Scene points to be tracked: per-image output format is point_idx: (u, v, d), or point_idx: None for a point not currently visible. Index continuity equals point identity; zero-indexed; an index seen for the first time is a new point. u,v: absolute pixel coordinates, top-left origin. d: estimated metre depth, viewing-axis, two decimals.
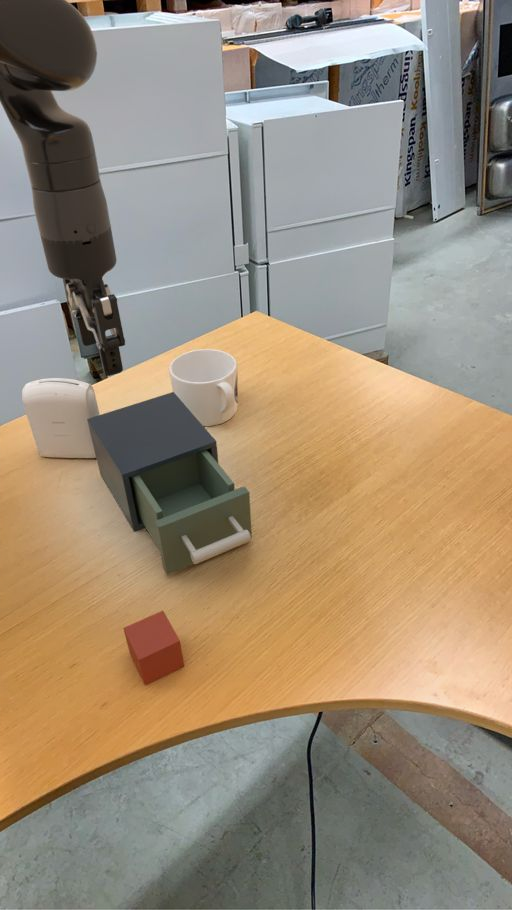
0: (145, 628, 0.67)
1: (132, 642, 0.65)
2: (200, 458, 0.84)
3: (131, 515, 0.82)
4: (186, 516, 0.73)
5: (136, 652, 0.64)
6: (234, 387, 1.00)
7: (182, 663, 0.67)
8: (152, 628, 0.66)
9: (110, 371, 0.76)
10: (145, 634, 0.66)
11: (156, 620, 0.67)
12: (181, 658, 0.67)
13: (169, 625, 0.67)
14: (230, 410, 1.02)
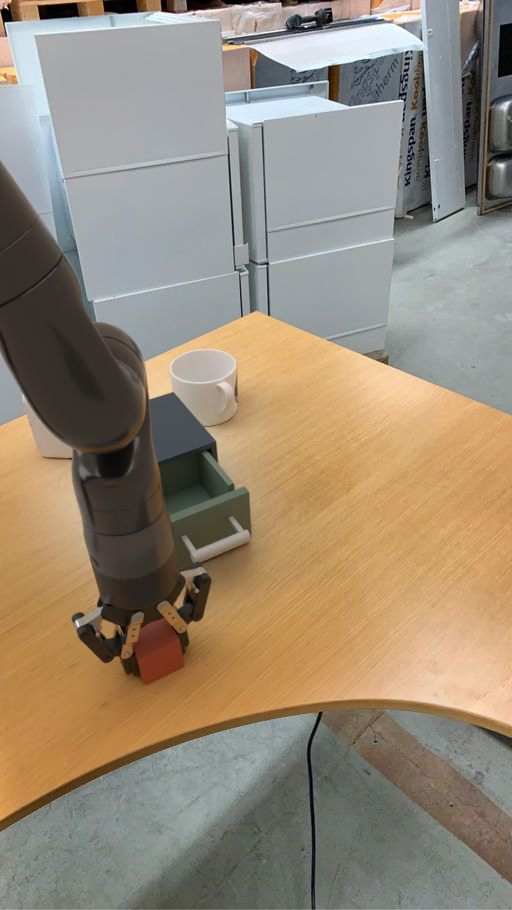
0: (145, 628, 0.67)
1: None
2: (200, 458, 0.84)
3: None
4: (186, 516, 0.73)
5: (136, 652, 0.64)
6: (234, 387, 1.00)
7: (182, 663, 0.67)
8: (152, 628, 0.66)
9: (122, 664, 0.67)
10: (145, 634, 0.66)
11: None
12: (181, 658, 0.67)
13: (169, 625, 0.67)
14: (230, 410, 1.02)
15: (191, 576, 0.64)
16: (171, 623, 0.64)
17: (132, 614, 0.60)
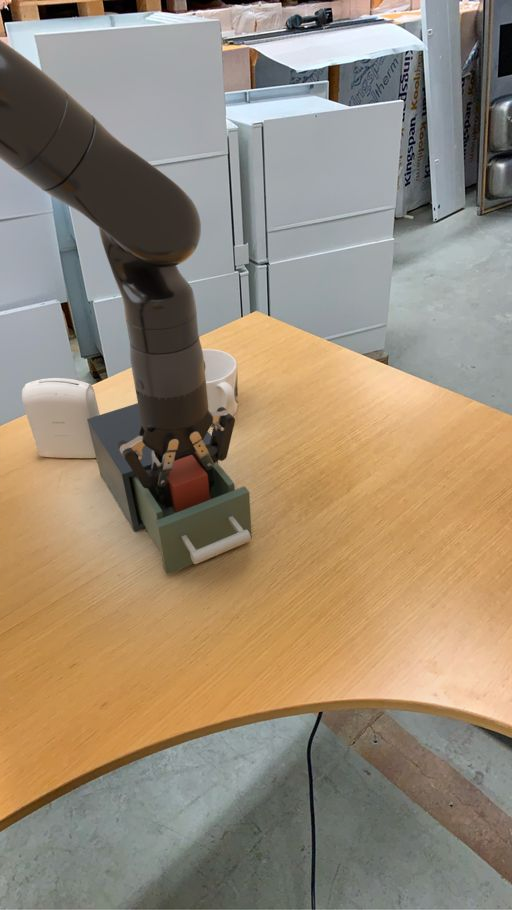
0: (177, 466, 0.78)
1: None
2: None
3: (131, 515, 0.82)
4: (186, 516, 0.73)
5: (170, 482, 0.75)
6: (234, 387, 1.00)
7: (209, 498, 0.79)
8: (183, 466, 0.78)
9: (157, 498, 0.78)
10: (177, 470, 0.77)
11: (186, 461, 0.78)
12: (208, 492, 0.78)
13: (198, 464, 0.78)
14: (230, 410, 1.02)
15: (217, 415, 0.75)
16: (200, 456, 0.75)
17: (169, 440, 0.71)
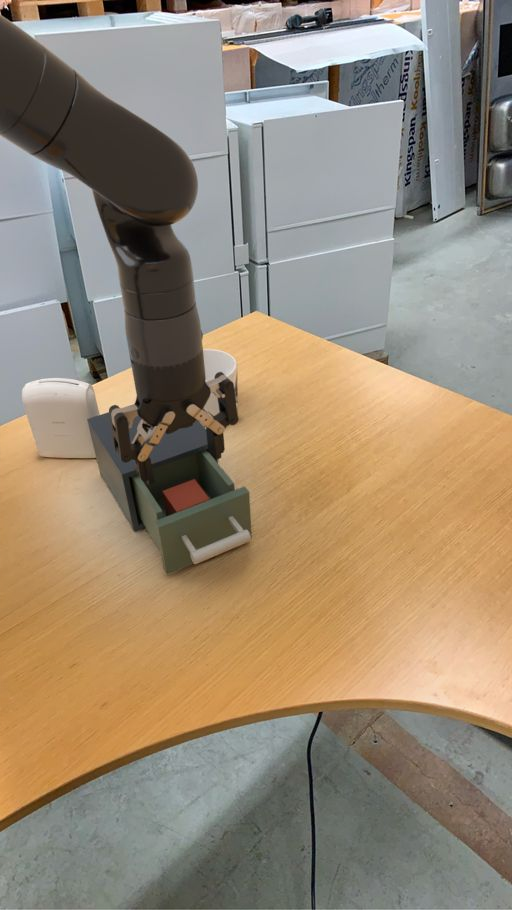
0: (180, 491, 0.80)
1: (170, 500, 0.79)
2: (200, 458, 0.84)
3: (131, 515, 0.82)
4: (186, 516, 0.73)
5: (174, 507, 0.78)
6: (234, 387, 1.00)
7: None
8: (186, 491, 0.80)
9: (138, 474, 0.75)
10: (180, 495, 0.79)
11: (189, 485, 0.81)
12: None
13: (200, 488, 0.80)
14: None
15: (214, 384, 0.72)
16: (206, 425, 0.73)
17: (165, 413, 0.69)
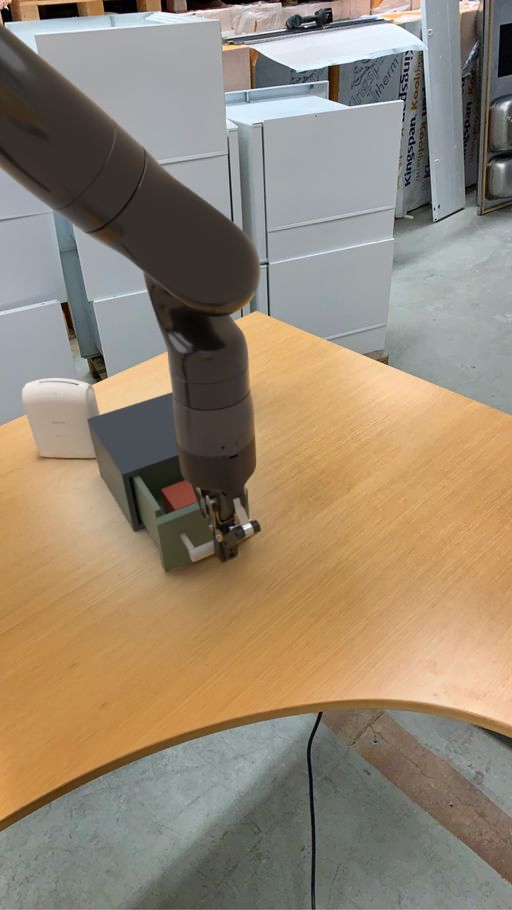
0: (179, 489, 0.80)
1: (169, 498, 0.79)
2: None
3: (131, 515, 0.82)
4: (185, 514, 0.73)
5: (173, 505, 0.78)
6: None
7: None
8: (185, 489, 0.80)
9: (226, 560, 0.71)
10: (179, 493, 0.80)
11: (188, 483, 0.81)
12: None
13: None
14: None
15: None
16: None
17: None
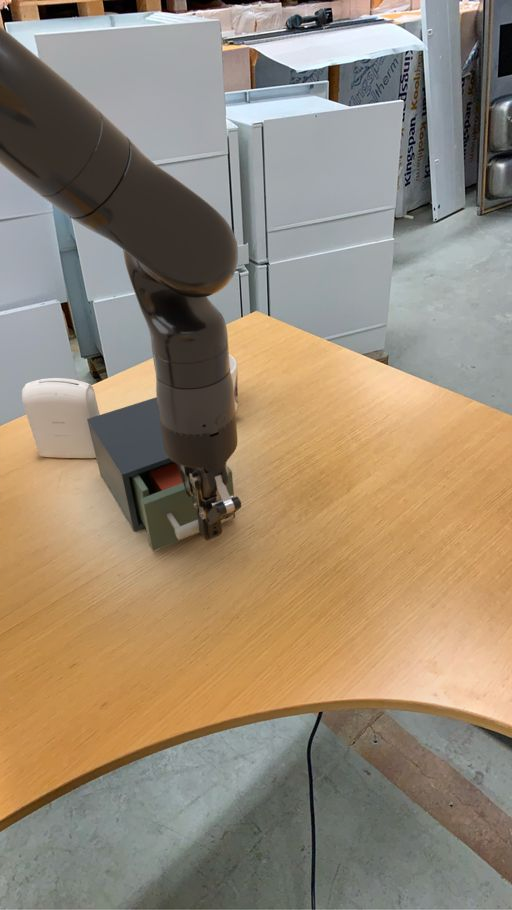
0: (166, 471, 0.83)
1: (156, 480, 0.82)
2: None
3: (131, 515, 0.82)
4: (171, 494, 0.76)
5: (160, 486, 0.81)
6: (234, 387, 1.00)
7: None
8: (172, 471, 0.83)
9: (210, 537, 0.73)
10: (166, 475, 0.82)
11: (175, 466, 0.84)
12: None
13: None
14: None
15: None
16: None
17: (225, 465, 0.68)
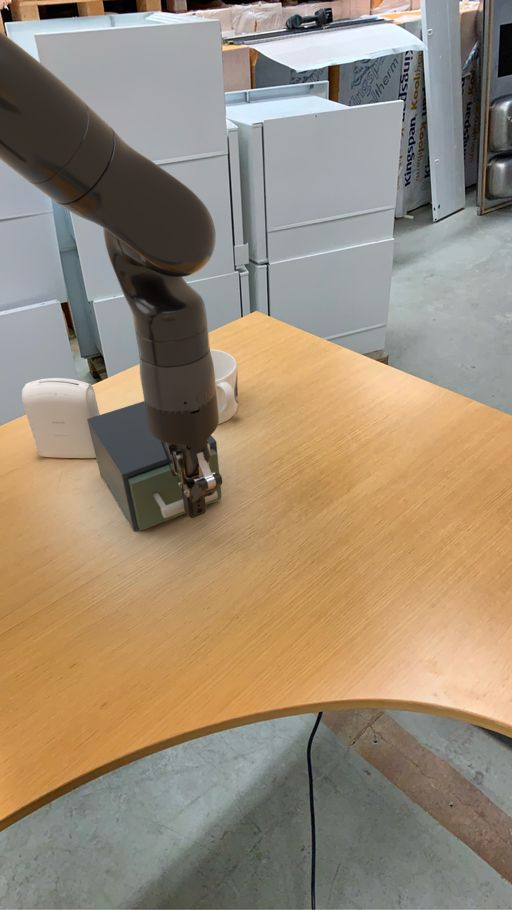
0: None
1: None
2: None
3: (131, 515, 0.82)
4: (157, 475, 0.79)
5: None
6: (234, 387, 1.00)
7: None
8: None
9: (195, 515, 0.76)
10: None
11: None
12: None
13: None
14: (230, 410, 1.02)
15: None
16: None
17: (207, 444, 0.71)
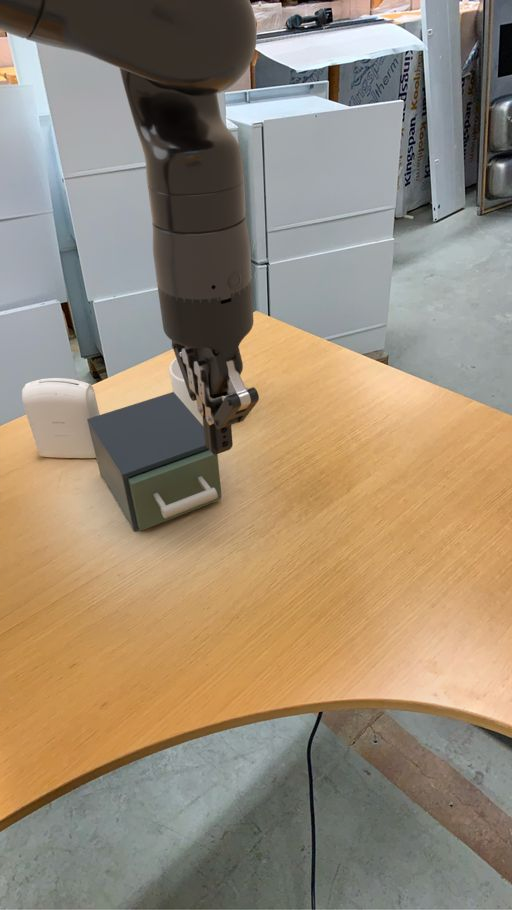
0: None
1: None
2: None
3: (131, 515, 0.82)
4: (157, 475, 0.79)
5: None
6: None
7: None
8: None
9: (219, 450, 0.61)
10: None
11: None
12: None
13: None
14: None
15: None
16: None
17: None
